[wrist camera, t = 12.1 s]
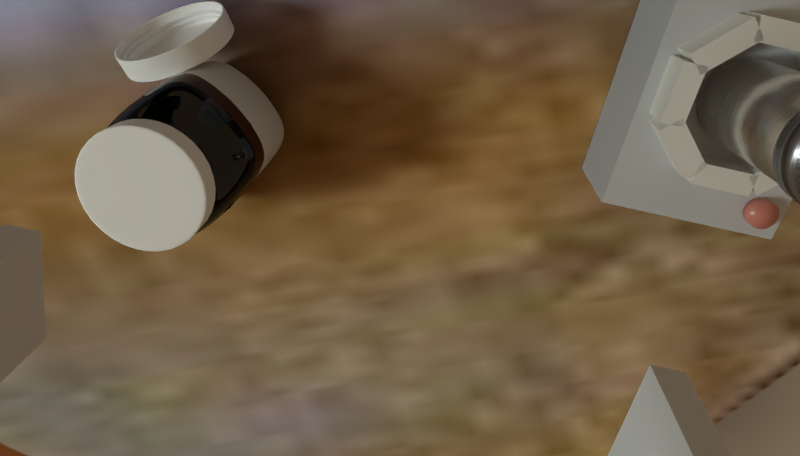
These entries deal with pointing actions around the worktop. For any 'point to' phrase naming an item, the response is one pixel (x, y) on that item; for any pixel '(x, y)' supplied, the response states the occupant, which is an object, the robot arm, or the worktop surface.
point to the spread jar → (177, 135)
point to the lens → (756, 116)
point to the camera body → (688, 114)
